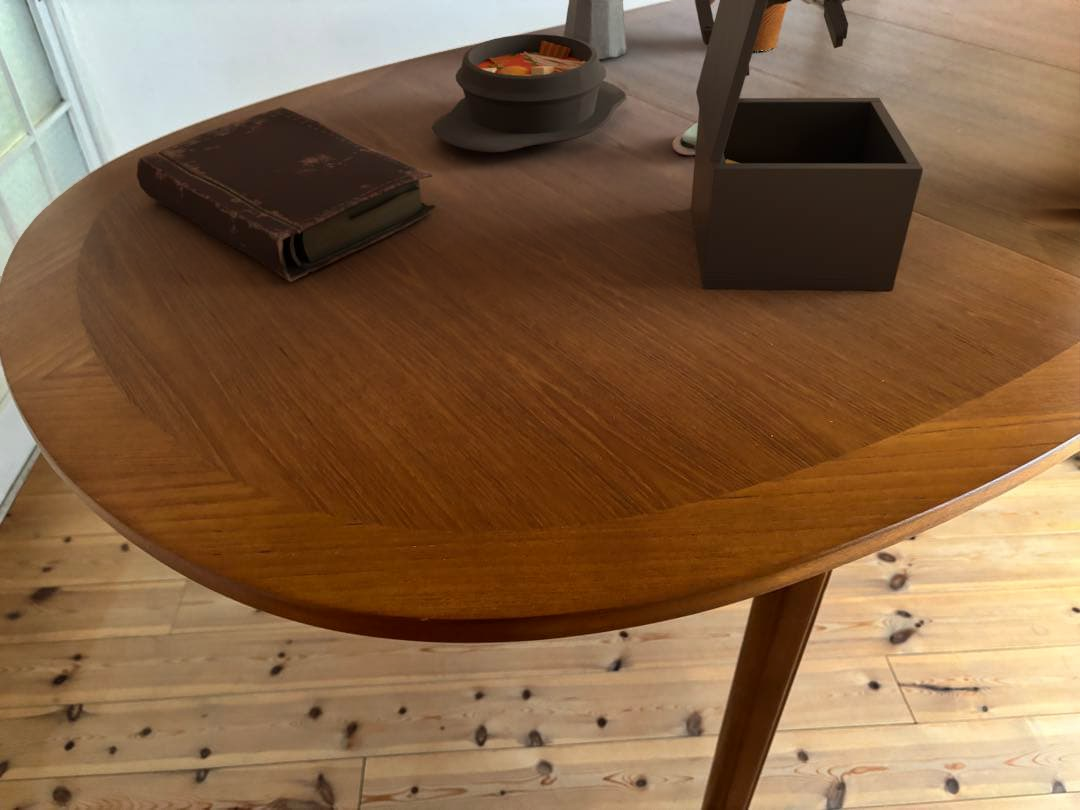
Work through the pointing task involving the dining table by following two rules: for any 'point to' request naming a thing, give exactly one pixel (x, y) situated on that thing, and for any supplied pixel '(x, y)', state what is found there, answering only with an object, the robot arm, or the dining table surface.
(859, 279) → the dark open-top crate
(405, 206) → the diary
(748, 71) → the robot arm
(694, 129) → the pacifier
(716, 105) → the lid
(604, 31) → the moka pot
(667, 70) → the dining table surface
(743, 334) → the dining table surface
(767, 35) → the disposable coffee cup
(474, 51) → the casserole
